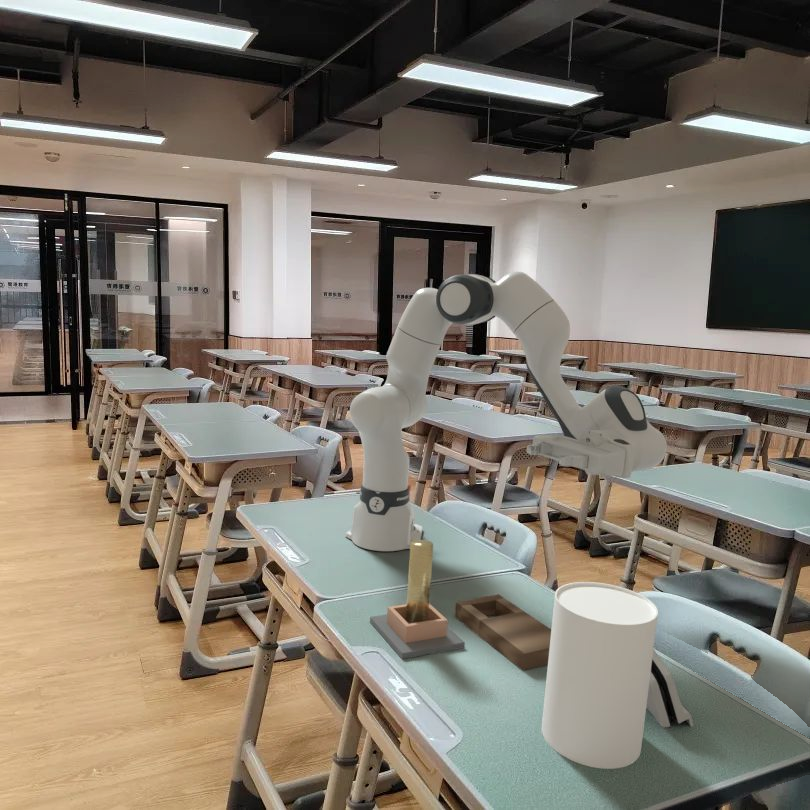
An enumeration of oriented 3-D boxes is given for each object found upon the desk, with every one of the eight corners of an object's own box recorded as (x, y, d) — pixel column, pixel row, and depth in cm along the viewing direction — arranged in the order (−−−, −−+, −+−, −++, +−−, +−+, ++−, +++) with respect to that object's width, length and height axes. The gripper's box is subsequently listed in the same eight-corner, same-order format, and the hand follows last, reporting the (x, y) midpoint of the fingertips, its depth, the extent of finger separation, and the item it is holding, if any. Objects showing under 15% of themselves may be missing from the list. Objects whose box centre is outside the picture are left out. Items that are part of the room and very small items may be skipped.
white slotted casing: (695, 727, 100) (681, 667, 98) (665, 738, 100) (650, 677, 98) (643, 667, 117) (631, 615, 115) (617, 676, 116) (604, 623, 115)
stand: (369, 622, 127) (371, 601, 126) (427, 613, 132) (429, 593, 131) (401, 658, 114) (403, 636, 114) (464, 647, 119) (466, 626, 119)
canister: (621, 710, 103) (636, 584, 101) (656, 770, 90) (675, 627, 87) (532, 706, 103) (544, 579, 100) (554, 766, 90) (569, 622, 87)
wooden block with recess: (454, 616, 131) (455, 601, 131) (497, 608, 136) (498, 594, 136) (522, 670, 113) (524, 653, 113) (569, 659, 118) (571, 642, 117)
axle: (408, 622, 125) (414, 538, 123) (429, 626, 124) (435, 541, 122) (402, 631, 122) (407, 545, 119) (423, 636, 121) (430, 548, 118)
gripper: (565, 426, 144) (512, 428, 138) (640, 447, 126) (583, 450, 120) (562, 456, 145) (509, 459, 138) (636, 480, 127) (580, 485, 121)
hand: (544, 455), depth 129 cm, fingers open, 8 cm apart
